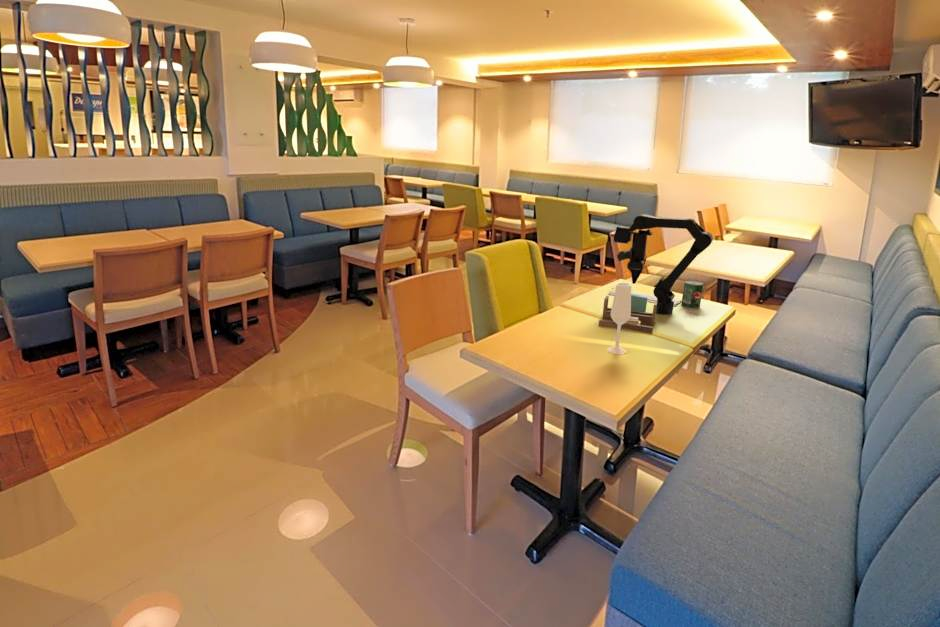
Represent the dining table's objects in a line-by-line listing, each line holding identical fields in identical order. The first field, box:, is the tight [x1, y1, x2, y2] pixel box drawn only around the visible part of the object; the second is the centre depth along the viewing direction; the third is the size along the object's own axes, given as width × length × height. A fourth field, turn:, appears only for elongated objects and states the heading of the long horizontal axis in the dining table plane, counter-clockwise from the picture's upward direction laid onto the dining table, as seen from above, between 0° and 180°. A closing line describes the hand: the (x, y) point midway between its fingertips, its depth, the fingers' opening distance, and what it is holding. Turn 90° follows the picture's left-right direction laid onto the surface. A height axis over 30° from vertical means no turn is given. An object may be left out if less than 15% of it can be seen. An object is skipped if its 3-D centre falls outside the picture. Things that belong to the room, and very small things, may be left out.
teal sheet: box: [631, 295, 648, 312], centre depth 225 cm, size 2×12×9 cm, turn 68°
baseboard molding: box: [607, 287, 682, 307], centre depth 252 cm, size 31×3×12 cm
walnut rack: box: [598, 295, 657, 334], centre depth 213 cm, size 18×20×9 cm
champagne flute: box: [607, 281, 632, 355], centre depth 184 cm, size 7×7×24 cm
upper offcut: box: [626, 317, 639, 325], centre depth 210 cm, size 5×8×1 cm, turn 76°
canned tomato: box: [680, 280, 704, 310], centre depth 240 cm, size 8×8×11 cm
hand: (634, 281), depth 230 cm, fingers open, 9 cm apart
